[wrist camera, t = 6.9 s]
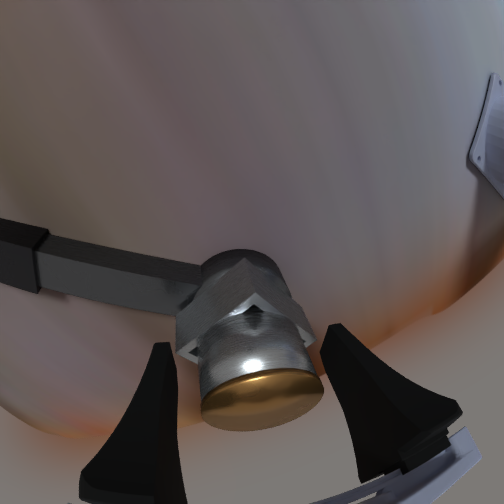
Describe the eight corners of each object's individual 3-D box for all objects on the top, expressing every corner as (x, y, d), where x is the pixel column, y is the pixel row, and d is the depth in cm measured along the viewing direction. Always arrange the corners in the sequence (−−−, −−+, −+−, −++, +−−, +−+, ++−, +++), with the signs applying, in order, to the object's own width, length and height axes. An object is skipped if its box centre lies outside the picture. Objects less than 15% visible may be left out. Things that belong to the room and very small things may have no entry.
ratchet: (296, 259, 15) (325, 310, 12) (263, 325, 17) (279, 378, 14) (-43, 189, 8) (-84, 221, 5) (-33, 261, 10) (-63, 299, 7)
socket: (302, 306, 14) (342, 392, 10) (238, 352, 15) (256, 437, 11) (244, 255, 12) (276, 358, 7) (174, 315, 13) (175, 415, 8)
